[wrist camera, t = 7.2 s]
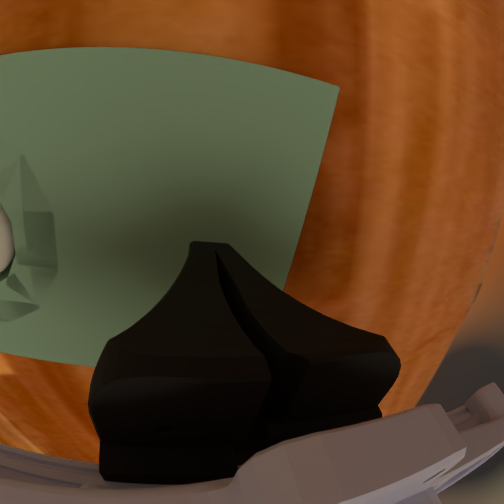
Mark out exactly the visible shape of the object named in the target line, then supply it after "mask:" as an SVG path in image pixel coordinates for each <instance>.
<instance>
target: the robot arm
mask: <svg viewBox="0 0 504 504" xmlns="http://www.w3.org/2000/svg"><path fill="white" fill-rule="evenodd" d="M400 368H401V363H400V359H399V357H398V356H397V354H396V353H395V351H394V350H393V348H392V347H391V346H390V344H389V343H388V341H387V340H386V338H385V337H384V336H381V335H378V334H374V333H371V332H368V331H364V330H361V329H358V328H355V327H352V326H349V325H347V324H344V323H342V322H339V321H337V320H334V319H332V318H330V317H327V316H325V315H323V314H321V313H319V312H317V311H315V310H313V309H311V308H309V307H308V306H306V305H304V304H302V303H300V302H299V301H297V300H296V299H294V298H292V297H291V296H289V295H288V294H286V293H285V292H283V291H282V290H280V289H279V288H278V287H276V286H275V285H274V284H272V283H271V282H270V281H269V280H267V279H266V278H265V277H264V276H263V275H261V274H260V273H259V272H258V271H257V270H256V269H255V268H253V267H252V266H251V265H250V264H249V263H248V262H247V261H246V260H245V259H244V258H243V257H242V256H241V255H240V254H239V253H238V252H237V251H236V250H235V249H234V248H233V247H231V246H230V245H229V244H228V243H216V242H203V241H192V242H191V243H190V244H189V253H188V257H187V259H186V262H185V264H184V266H183V268H182V270H181V272H180V273H179V275H178V277H177V278H176V280H175V282H174V283H173V285H172V286H171V287H170V289H169V290H168V291H167V293H166V294H165V295H164V296H163V297H162V299H161V300H160V301H159V302H158V303H157V304H156V305H155V306H154V307H153V308H152V309H151V310H150V311H149V312H148V313H147V314H146V315H144V316H143V317H142V318H141V319H140V320H138V321H137V322H136V323H135V324H133V325H132V326H131V327H129V328H128V329H126V330H125V331H123V332H121V333H120V334H118V335H116V336H115V337H113V338H111V339H109V340H108V341H107V343H106V345H105V347H104V349H103V351H102V353H101V355H100V357H99V360H98V362H97V364H96V367H95V370H94V373H93V377H92V380H91V385H90V392H89V399H88V408H89V414H90V416H91V419H92V422H93V424H94V427H95V429H96V432H97V434H98V437H99V439H100V453H99V464H96V463H89V462H82V461H75V460H69V459H64V458H58V457H53V456H48V455H44V454H39V453H35V452H31V451H26V450H23V449H19V448H15V447H11V446H8V445H4V444H1V443H0V504H441V502H440V500H439V498H438V496H437V493H439V492H441V491H442V490H444V489H446V488H447V487H449V486H450V485H452V484H454V483H455V482H456V481H458V480H459V479H461V478H463V477H464V476H466V475H467V474H468V473H470V472H471V471H473V470H474V469H476V468H477V467H478V466H480V465H481V464H482V463H484V462H485V461H486V460H488V459H489V458H490V457H491V456H492V455H493V454H495V453H496V452H497V451H498V450H499V449H501V448H502V447H503V446H504V395H503V393H502V392H501V390H500V389H499V388H498V387H497V385H496V384H495V383H491V384H489V385H487V386H485V387H483V388H481V389H479V390H478V391H477V392H475V393H474V394H473V395H472V396H471V397H470V399H469V400H468V401H467V402H466V405H463V406H461V407H459V408H457V409H455V410H452V411H450V412H448V413H445V411H444V410H443V408H442V407H441V405H440V404H429V405H421V406H418V407H415V408H412V409H409V410H405V411H402V412H399V413H396V414H392V415H389V416H385V417H382V412H381V411H380V409H379V407H378V404H379V403H380V401H381V400H382V399H383V398H384V396H385V395H386V394H387V392H388V391H389V390H390V388H391V387H392V386H393V384H394V382H395V381H396V379H397V377H398V375H399V371H400ZM381 417H382V418H381Z"/></svg>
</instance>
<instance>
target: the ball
mask: <svg viewBox="0 0 504 504" xmlns="http://www.w3.org/2000/svg"><path fill="white" fill-rule="evenodd" d="M15 253H16V252H15V246H14V239H13V232H12V224H11V221H10V219H9V217H8V215H7V214H6V212H5V210H4V208H3V206H2V205H1V203H0V273H1V272H2V271H3V270H4V269H5V268H6V267H7V266H8V265H9V264H10V262H11V261H12V259H13V257H14V255H15Z"/></svg>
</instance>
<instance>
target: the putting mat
mask: <svg viewBox="0 0 504 504" xmlns="http://www.w3.org/2000/svg"><path fill="white" fill-rule="evenodd" d="M339 88H340V87H338V86H335V85H332V84H329V83H326V82H323V81H319V80H316V79H313V78H309V77H306V76H302V75H299V74H295V73H291V72H287V71H284V70H280V69H275V68H271V67H267V66H263V65H258V64H254V63H249V62H244V61H239V60H233V59H228V58H222V57H216V56H210V55H203V54H196V53H188V52H179V51H170V50H159V49H145V48H125V47H78V48H59V49H46V50H36V51H27V52H19V53H12V54H5V55H0V203H1V205H2V206H3V208H4V210H5V212H6V214H7V215H8V217H9V219H10V221H11V224H12V232H13V239H14V246H15V252H16V255H15V256H14V257H13V259H12V261H11V262H10V264H9V265H8V266H7V267H6V268H5V269H4V270H3V271H2V272H1V273H0V352H3V353H8V354H13V355H18V356H23V357H29V358H34V359H40V360H46V361H53V362H60V363H67V364H74V365H82V366H91V367H96V364H97V362H98V360H99V357H100V355H101V353H102V351H103V349H104V347H105V345H106V343H107V341H108V340H109V339H111V338H113V337H115V336H116V335H118V334H120V333H121V332H123V331H125V330H126V329H128V328H129V327H131V326H132V325H133V324H135V323H136V322H137V321H138V320H140V319H141V318H142V317H143V316H144V315H146V314H147V313H148V312H149V311H150V310H151V309H152V308H153V307H154V306H155V305H156V304H157V303H158V302H159V301H160V300H161V299H162V297H163V296H164V295H165V294H166V293H167V291H168V290H169V289H170V287H171V286H172V285H173V283H174V282H175V280H176V278H177V277H178V275H179V273H180V272H181V270H182V268H183V266H184V264H185V262H186V259H187V257H188V253H189V244H190V243H191V242H192V241H203V242H216V243H228V244H229V245H230V246H231V247H233V248H234V249H235V250H236V251H237V252H238V253H239V254H240V255H241V256H242V257H243V258H244V259H245V260H246V261H247V262H248V263H249V264H250V265H251V266H252V267H253V268H255V269H256V270H257V271H258V272H259V273H260V274H261V275H263V276H264V277H265V278H266V279H267V280H269V281H270V282H271V283H272V284H274V285H275V286H276V287H278V288H279V289H280V290H282V291H283V289H284V286H285V283H286V280H287V276H288V273H289V270H290V267H291V263H292V260H293V257H294V254H295V250H296V247H297V244H298V240H299V237H300V233H301V230H302V227H303V223H304V220H305V216H306V213H307V209H308V206H309V202H310V199H311V195H312V192H313V188H314V185H315V181H316V177H317V174H318V170H319V166H320V163H321V159H322V155H323V151H324V148H325V144H326V140H327V136H328V132H329V128H330V125H331V121H332V117H333V113H334V109H335V105H336V101H337V97H338V93H339Z"/></svg>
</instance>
